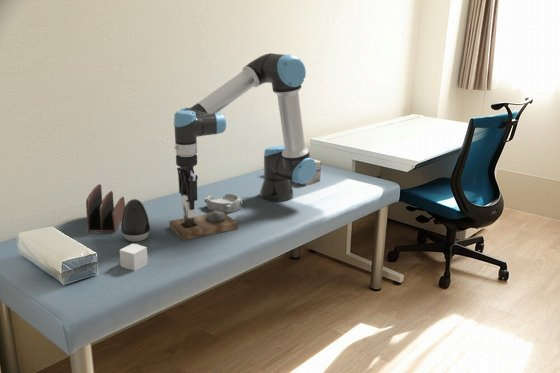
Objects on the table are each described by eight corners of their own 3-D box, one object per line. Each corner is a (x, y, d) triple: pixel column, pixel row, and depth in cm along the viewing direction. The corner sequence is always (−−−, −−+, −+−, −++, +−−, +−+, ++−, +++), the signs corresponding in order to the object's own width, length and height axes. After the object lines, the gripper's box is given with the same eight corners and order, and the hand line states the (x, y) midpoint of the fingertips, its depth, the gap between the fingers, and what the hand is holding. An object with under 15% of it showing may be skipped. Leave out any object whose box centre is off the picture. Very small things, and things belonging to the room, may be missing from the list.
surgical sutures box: (320, 181, 262) (321, 161, 258) (306, 186, 254) (307, 165, 251) (283, 171, 278) (284, 152, 274) (269, 175, 270) (269, 155, 267)
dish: (200, 208, 222) (200, 197, 220) (225, 200, 231) (225, 190, 230) (222, 217, 212) (222, 205, 210) (247, 209, 221) (247, 198, 220)
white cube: (133, 259, 173) (132, 243, 171) (147, 264, 170) (146, 247, 169) (120, 266, 168) (119, 249, 166) (134, 271, 165) (133, 253, 163)
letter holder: (87, 233, 193) (84, 197, 189) (101, 214, 212) (98, 181, 208) (115, 233, 194) (112, 197, 190) (126, 214, 213) (123, 181, 209)
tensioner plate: (221, 218, 210) (221, 203, 208) (237, 229, 199) (237, 214, 197) (169, 228, 199) (168, 213, 197) (183, 241, 188) (182, 225, 186)
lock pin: (192, 221, 198) (191, 192, 194) (196, 224, 195) (195, 195, 191) (182, 223, 196) (180, 194, 192) (186, 226, 193) (185, 197, 189)
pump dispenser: (122, 246, 183) (118, 205, 178) (121, 234, 192) (119, 196, 187) (151, 243, 185) (149, 203, 181) (150, 232, 195) (148, 194, 190)
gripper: (167, 150, 192) (171, 209, 199) (185, 161, 178) (188, 224, 185) (187, 148, 196) (189, 206, 203) (205, 158, 182) (207, 220, 189)
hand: (188, 215), depth 194 cm, fingers closed on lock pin, 4 cm apart
